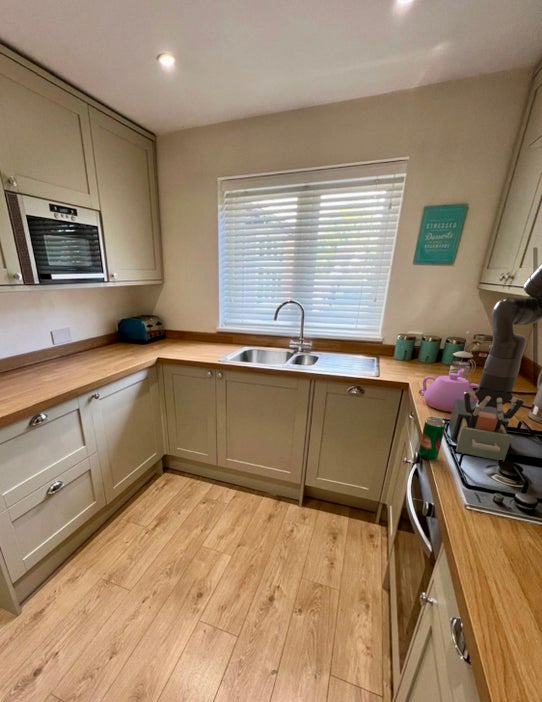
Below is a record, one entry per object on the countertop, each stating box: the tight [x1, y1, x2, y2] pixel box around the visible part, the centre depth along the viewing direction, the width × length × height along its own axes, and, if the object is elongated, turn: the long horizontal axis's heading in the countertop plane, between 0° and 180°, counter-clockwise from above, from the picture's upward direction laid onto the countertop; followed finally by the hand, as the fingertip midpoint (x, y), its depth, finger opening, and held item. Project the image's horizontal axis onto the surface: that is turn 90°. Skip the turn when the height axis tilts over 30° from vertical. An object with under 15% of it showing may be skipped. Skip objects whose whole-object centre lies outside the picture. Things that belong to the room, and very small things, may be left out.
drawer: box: [455, 417, 513, 462], centre depth 98 cm, size 18×11×8 cm, turn 151°
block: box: [474, 412, 498, 432], centre depth 96 cm, size 4×4×4 cm
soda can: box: [417, 416, 447, 461], centre depth 95 cm, size 5×5×12 cm
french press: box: [448, 330, 477, 380], centre depth 158 cm, size 10×12×25 cm
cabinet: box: [448, 399, 510, 443], centre depth 107 cm, size 15×13×10 cm
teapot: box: [418, 368, 479, 413], centre depth 132 cm, size 22×22×14 cm
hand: (483, 427), depth 97 cm, fingers closed on block, 4 cm apart
